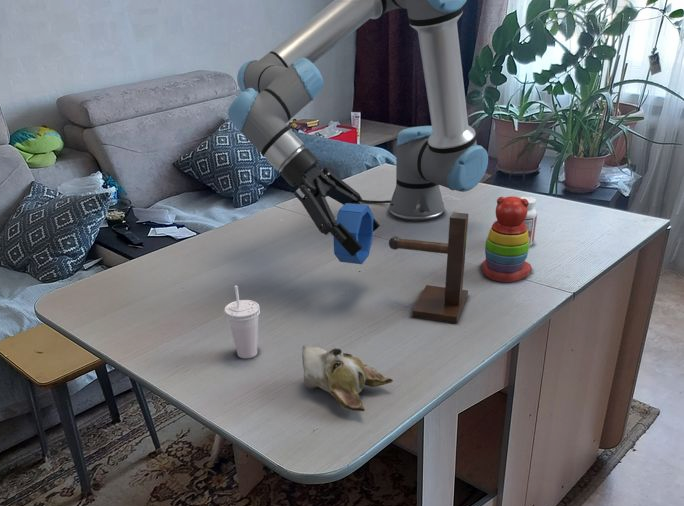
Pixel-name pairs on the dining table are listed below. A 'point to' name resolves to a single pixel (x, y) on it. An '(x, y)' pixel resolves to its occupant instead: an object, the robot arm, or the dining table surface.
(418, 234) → the dining table surface
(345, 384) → the ceramic sculpture
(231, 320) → the smoothie
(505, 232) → the stacking bear
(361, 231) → the tape
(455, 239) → the stand
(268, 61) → the robot arm
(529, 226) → the pill bottle
